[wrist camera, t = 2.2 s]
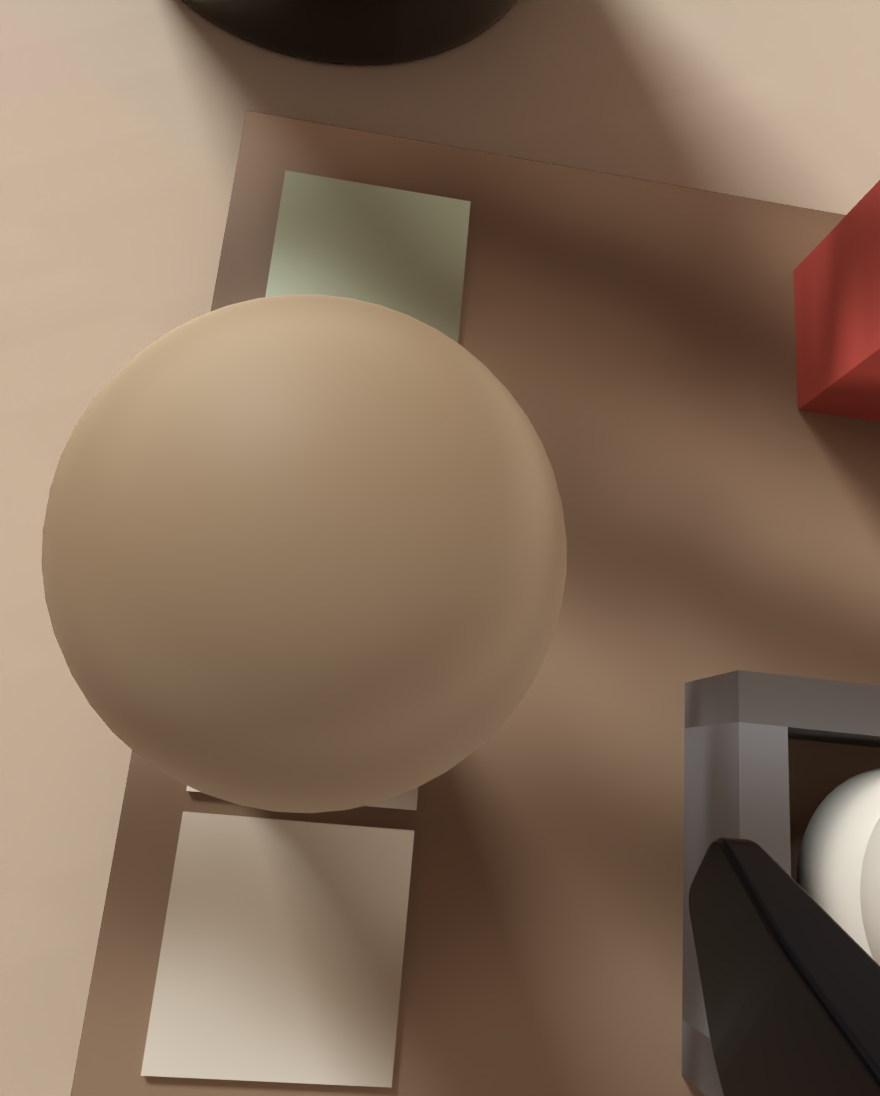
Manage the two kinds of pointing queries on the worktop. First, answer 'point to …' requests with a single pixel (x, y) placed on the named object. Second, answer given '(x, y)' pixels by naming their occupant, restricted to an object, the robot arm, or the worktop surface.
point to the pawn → (304, 553)
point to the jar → (354, 26)
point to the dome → (846, 858)
